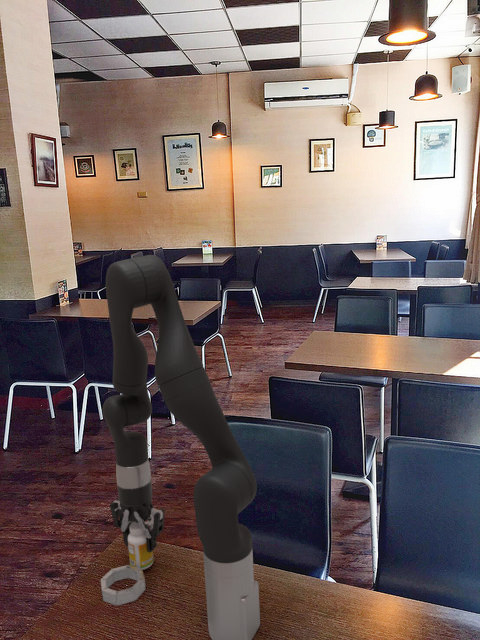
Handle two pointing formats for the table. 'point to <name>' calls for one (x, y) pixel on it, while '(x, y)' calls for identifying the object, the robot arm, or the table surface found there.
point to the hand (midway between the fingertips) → (140, 547)
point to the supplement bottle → (138, 548)
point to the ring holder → (126, 594)
